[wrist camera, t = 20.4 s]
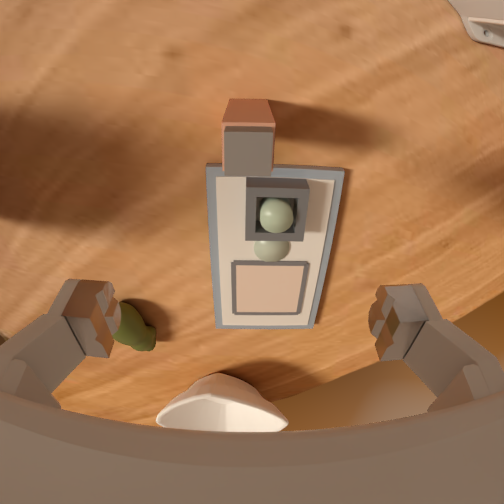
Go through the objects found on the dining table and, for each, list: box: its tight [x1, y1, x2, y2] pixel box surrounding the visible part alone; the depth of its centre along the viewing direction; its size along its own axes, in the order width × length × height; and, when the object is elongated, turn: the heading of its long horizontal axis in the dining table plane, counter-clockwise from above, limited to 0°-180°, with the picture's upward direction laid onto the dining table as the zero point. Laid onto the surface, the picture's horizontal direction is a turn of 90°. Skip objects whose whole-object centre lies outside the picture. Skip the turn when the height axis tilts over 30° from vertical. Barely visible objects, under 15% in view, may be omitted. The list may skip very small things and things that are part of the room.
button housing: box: [245, 177, 310, 242], centre depth 32 cm, size 6×6×2 cm
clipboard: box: [206, 163, 345, 329], centre depth 38 cm, size 14×24×1 cm, turn 179°
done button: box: [259, 197, 293, 233], centre depth 32 cm, size 3×3×2 cm
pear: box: [112, 302, 156, 351], centre depth 44 cm, size 6×5×10 cm
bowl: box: [156, 373, 288, 432], centre depth 54 cm, size 21×21×9 cm
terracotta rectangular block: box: [222, 99, 276, 177], centre depth 24 cm, size 4×4×12 cm
